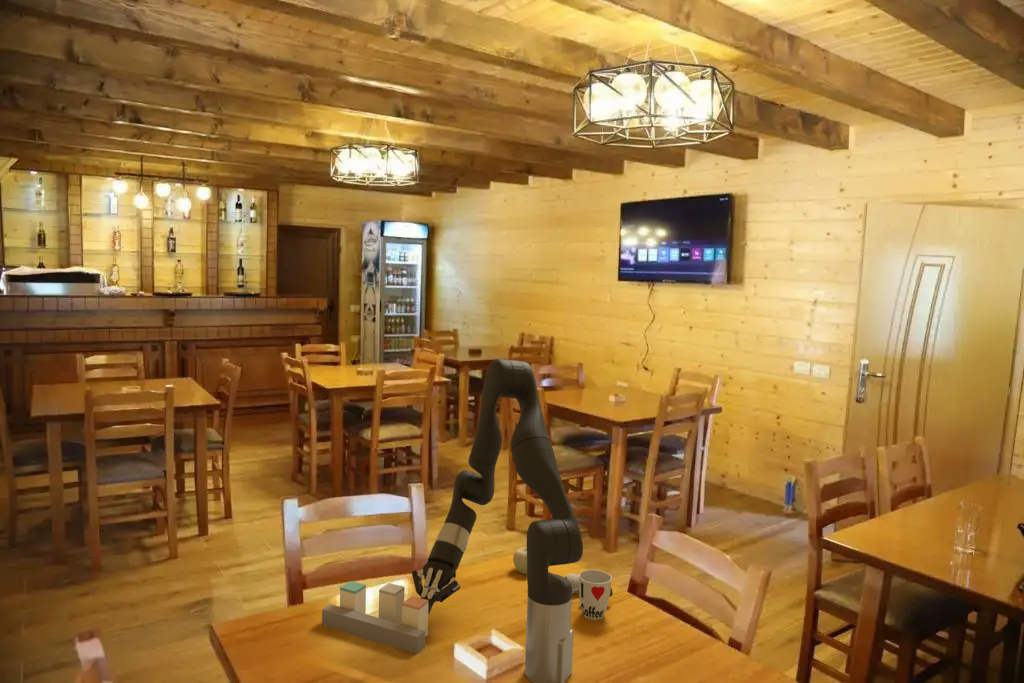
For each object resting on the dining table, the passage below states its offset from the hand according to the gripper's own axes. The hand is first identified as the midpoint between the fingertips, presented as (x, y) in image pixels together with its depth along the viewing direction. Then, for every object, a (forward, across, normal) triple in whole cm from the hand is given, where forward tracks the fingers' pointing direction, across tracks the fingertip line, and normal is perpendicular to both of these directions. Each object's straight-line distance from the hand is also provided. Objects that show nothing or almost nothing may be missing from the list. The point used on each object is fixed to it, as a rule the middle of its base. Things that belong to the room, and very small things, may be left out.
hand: (421, 616), depth 162 cm
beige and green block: (+5, -17, 0) cm, 18 cm away
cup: (-17, +32, +24) cm, 43 cm away
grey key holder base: (+4, -8, +3) cm, 10 cm away
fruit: (-28, +6, +35) cm, 45 cm away
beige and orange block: (+4, 0, +1) cm, 4 cm away
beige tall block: (+2, -8, +3) cm, 9 cm away
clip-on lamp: (-22, +24, +29) cm, 43 cm away
